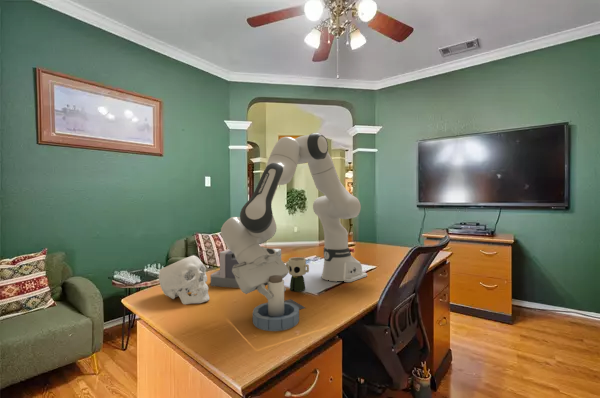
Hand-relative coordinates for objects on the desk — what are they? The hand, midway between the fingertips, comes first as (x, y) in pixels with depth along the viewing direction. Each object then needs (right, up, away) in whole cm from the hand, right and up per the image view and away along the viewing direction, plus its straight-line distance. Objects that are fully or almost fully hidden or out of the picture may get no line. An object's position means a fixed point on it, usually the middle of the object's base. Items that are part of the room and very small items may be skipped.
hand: (277, 294), depth 87 cm
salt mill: (-1, -6, 0) cm, 6 cm away
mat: (+2, -8, +11) cm, 14 cm away
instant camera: (-22, -9, +44) cm, 50 cm away
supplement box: (-7, -8, +52) cm, 53 cm away
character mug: (+6, -8, +29) cm, 31 cm away
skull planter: (-37, -9, +22) cm, 44 cm away
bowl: (0, -8, 0) cm, 8 cm away
